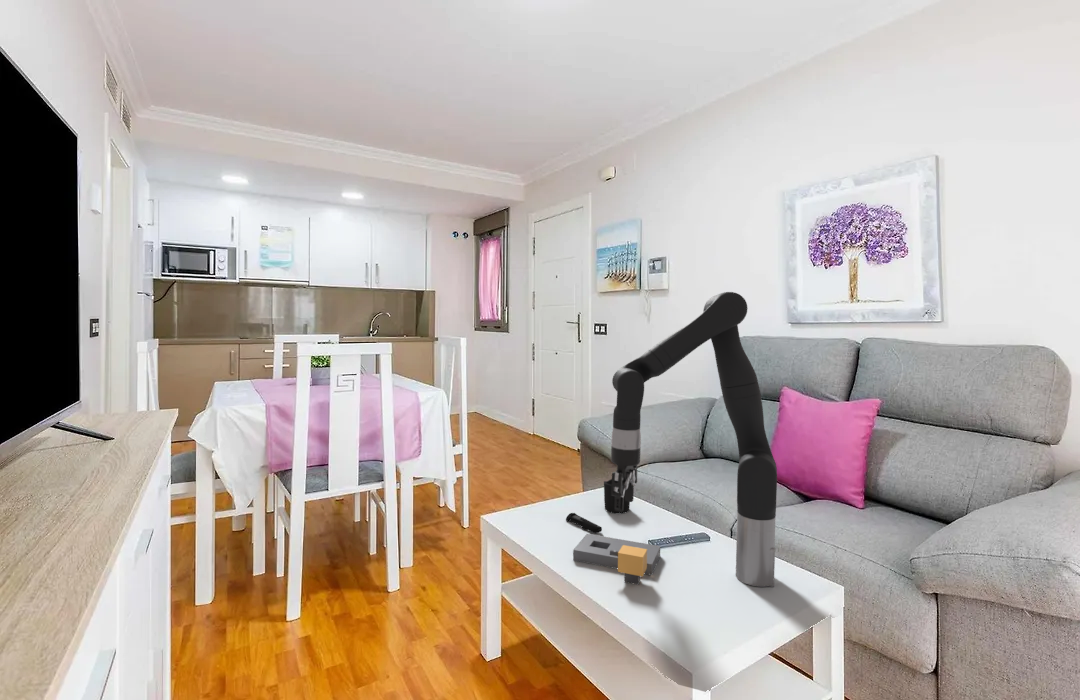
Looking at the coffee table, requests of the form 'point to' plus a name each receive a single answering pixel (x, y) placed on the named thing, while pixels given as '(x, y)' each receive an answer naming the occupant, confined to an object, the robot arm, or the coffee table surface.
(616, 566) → the socket board
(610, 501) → the pen holder
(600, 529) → the electric trimmer
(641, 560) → the plug
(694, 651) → the coffee table surface
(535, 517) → the coffee table surface
